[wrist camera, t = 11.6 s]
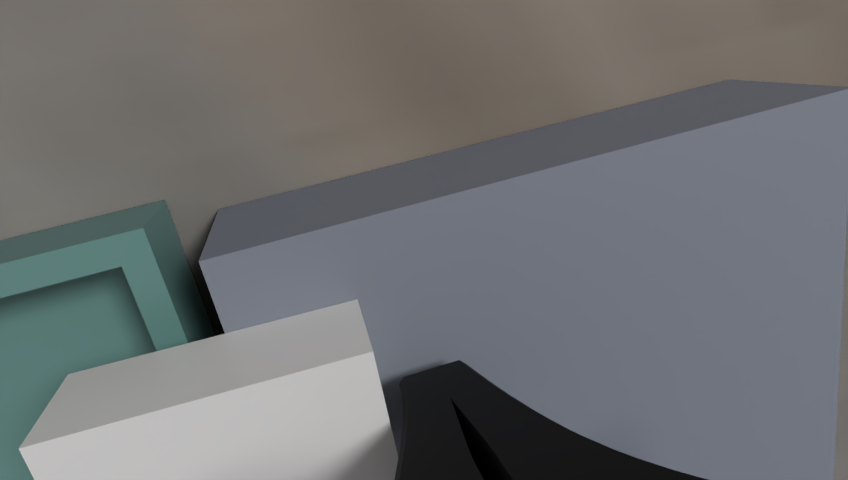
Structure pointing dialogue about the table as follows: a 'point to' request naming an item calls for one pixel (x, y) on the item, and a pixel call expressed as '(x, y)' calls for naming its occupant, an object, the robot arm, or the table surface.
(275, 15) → the table surface
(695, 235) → the board
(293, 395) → the tile
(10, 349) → the box
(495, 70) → the table surface
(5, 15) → the table surface
